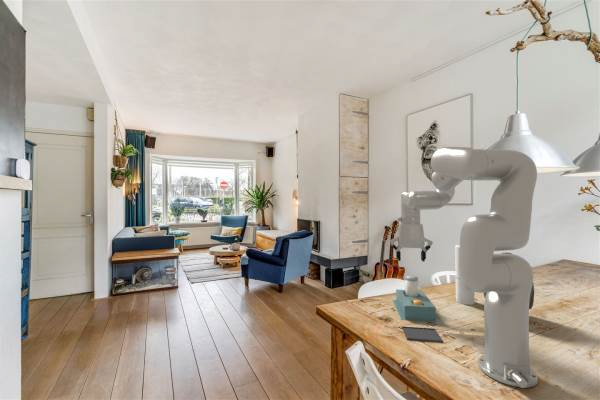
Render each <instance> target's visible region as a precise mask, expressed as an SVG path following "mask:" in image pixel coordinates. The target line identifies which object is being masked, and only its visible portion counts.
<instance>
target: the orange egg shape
mask: <svg viewBox="0 0 600 400" xmlns="http://www.w3.org/2000/svg"><path fill="white" fill-rule="evenodd" d="M413 305H422V301H421V300H413Z"/></svg>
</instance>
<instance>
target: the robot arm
mask: <svg viewBox="0 0 600 400" xmlns="http://www.w3.org/2000/svg"><path fill="white" fill-rule="evenodd" d="M430 167H431V170H432V171H433V173H432V174H431V178H430V179H431V182H432V184H433V186H434V187H435V188H436V190H414V191H404V192H402V193H401V195H400V211H401V212H400V214H401V215H400V217H398V218H397V222H400V223H399V226H398V232H397V233H398V235H397V236H396V237H394V238H391V240H389V243H390V245H391V247H392V248H393V249H394V250H395V253H396V254H395V255H396V256H395V257H396V259H397V261H399V262H401V261H402V260H401V258H402V257H401V255H402V254H401V249H421V251H420V260H421V262H425V261H426V259H427V252H428V251H429V250H430V249H431V247H432V245H433V241H432V240H430V239H428V238H426V237H425V232H424V231H425V230H424V225H423V223H421V211H425V210H428V211H429V210H431V211H432V210H438V209H441V208H443V207H445V206H447V205H448V204H449V203H450V202H451V201H452V200H453V198H454V195H455V191H456V188H455V187H457V186H458V185H460V183H461V182H463V181H498V182H500V183H499V184H497V186H496V187H495V189H494V191H493V192H492V196H491V198H490V210H489V213H488V214H487V213H486V214H484V213H483V214H475V215H472V216H470V217H468V218H467V219H466V220H465V221H464V223H463V224H462V227H461V229H460V234H459V245H460V248H459V264H458V270H459V277H460V280H461V282H462V284H463V285H464V286H465V287H466V288H467V289H468V290H470V291H473V292H474V293H481V294H484V292H487V294H486V297H485V298H484V303H483V306H484V307H483V308H484V309H483V311H484V312H483V317H484V319H483V320H484V321H483V322H484V323H483V325H484V328H483V330H484V331H483V332H484V333H483V334H484V355H481V356H480V357H478V358H477V359H478V360H477V364H478V367H479V369H480V370H481V371H482V372H483V373H484V374H486V375H487V376H488V377H490V378H491V379H493V380H495V381H497V382H500V383H502V384H505V385H507V386H511V387H517V388H521V389H525V388H532V387H533V388H534V387H535V386H537V384H538V382H539V376H538V375H537V373H536V372H535V370H533V369H532V368H531V367H530V366H531V364H530V309H529V299H530V293H531V289H532V284H534V271H533V268H532V266H531V264H530V263H529V262H528V261H527V260H526V259H525V258H524V257H522V256H520V255H517V254H514V253H511V254H506V253H507V252H505V251H513V250H520V249H523V248H524V247H526V245H528V243H529V239H530V236H531V235H530V234H531V233H530V232H531V224H532V223H531V222H532V212H533V200H534V199H533V198H534V197H533V196H534V192H535V188H536V184H537V178H538V170H537V166H536V163H535V161H534V160H533V159H532V158H531V157H530V156H528V155H527V154H525V153H524V152H520V151H518V150H512V149H500V148H499V149H496V148H495V149H491V148H490V149H488V148H487V149H485V148H484V149H483V148H472V147H467V146H444V147H440V148H438V149H437V150H436V151H435V152H434V153H433V155H432V156H431V159H430ZM395 242H397V244H398V245H397V246H396V245H395ZM425 243H427V245H426V246H425ZM500 251H501V253H502V254H501V253H494V252H500ZM502 251H504V252H502Z"/></svg>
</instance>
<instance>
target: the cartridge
mask: <svg viewBox="0 0 600 400" xmlns="http://www.w3.org/2000/svg"><path fill="white" fill-rule="evenodd" d="M404 278H405V279H404V280H405V281H404V283H405V289H404V290H406V297H418V290H419V277H418V276H417V275H405V276H404Z"/></svg>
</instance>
